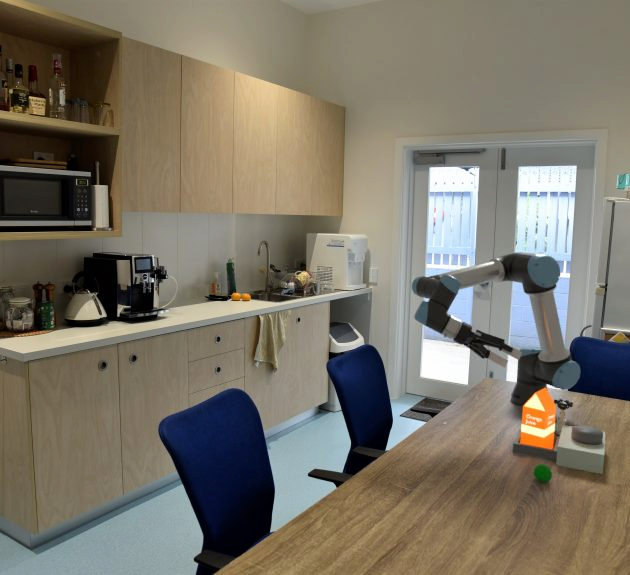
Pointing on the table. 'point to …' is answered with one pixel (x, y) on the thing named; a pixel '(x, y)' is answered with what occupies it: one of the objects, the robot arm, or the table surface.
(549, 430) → the orange juice
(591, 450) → the grey boxy fixture
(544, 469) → the polyhedron
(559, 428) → the valve
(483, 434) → the table surface
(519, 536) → the table surface
